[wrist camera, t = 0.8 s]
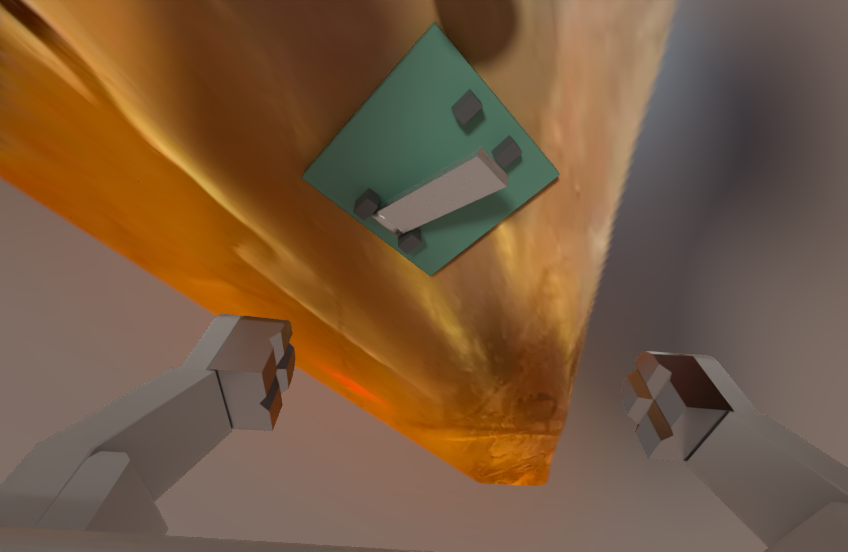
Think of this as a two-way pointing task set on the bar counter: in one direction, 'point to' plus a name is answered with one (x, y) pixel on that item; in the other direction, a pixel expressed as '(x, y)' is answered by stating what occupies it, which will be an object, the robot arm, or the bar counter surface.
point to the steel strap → (442, 192)
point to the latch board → (428, 150)
